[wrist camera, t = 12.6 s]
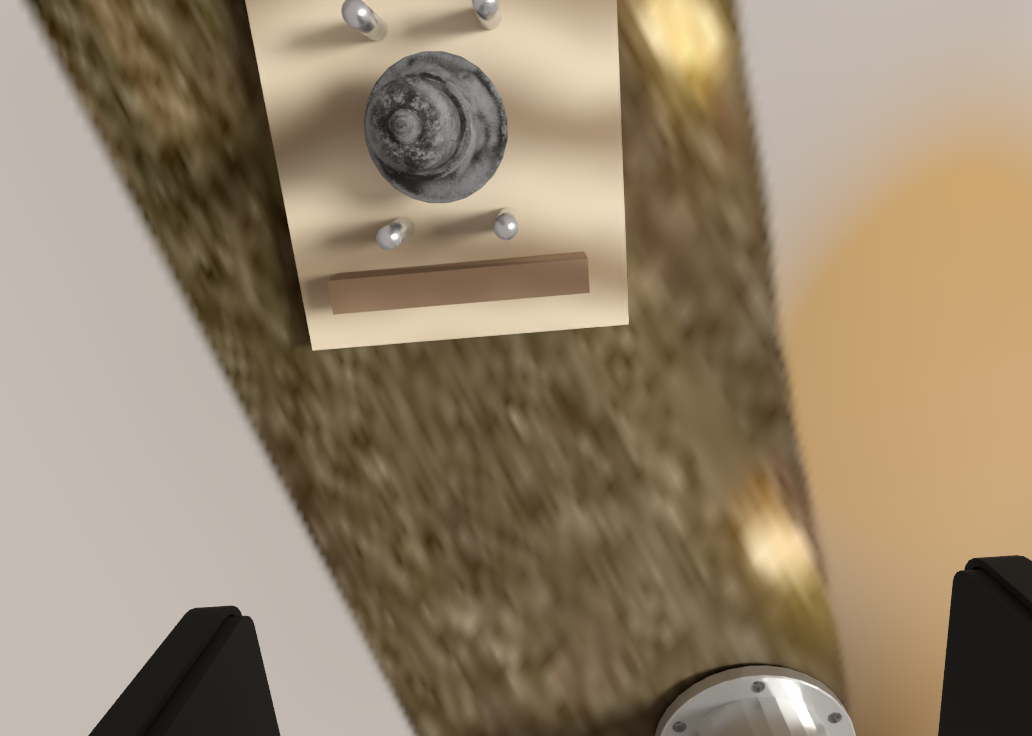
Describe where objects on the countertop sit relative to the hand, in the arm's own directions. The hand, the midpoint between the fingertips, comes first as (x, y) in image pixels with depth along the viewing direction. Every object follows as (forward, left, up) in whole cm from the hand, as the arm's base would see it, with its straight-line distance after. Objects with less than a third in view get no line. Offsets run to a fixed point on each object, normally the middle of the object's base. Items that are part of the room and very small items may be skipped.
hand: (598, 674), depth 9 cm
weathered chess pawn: (+8, +4, -26) cm, 27 cm away
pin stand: (+8, +4, -27) cm, 28 cm away
